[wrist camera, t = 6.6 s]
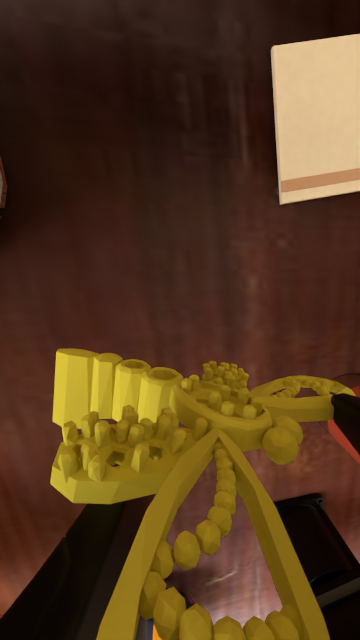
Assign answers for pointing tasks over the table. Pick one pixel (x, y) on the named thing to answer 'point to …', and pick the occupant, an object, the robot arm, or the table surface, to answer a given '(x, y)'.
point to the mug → (2, 186)
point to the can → (356, 385)
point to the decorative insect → (184, 480)
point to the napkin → (317, 117)
